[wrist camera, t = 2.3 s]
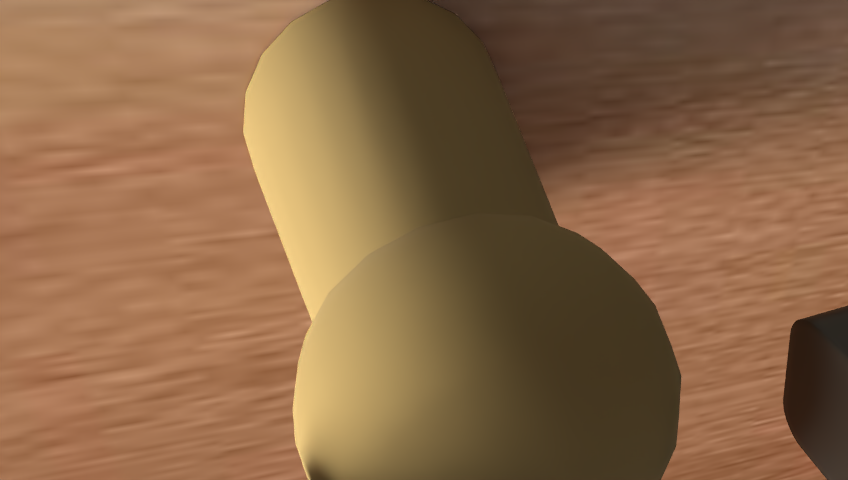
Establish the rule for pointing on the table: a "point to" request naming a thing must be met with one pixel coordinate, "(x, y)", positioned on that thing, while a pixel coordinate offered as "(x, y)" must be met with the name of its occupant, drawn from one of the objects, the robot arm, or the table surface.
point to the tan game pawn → (443, 268)
